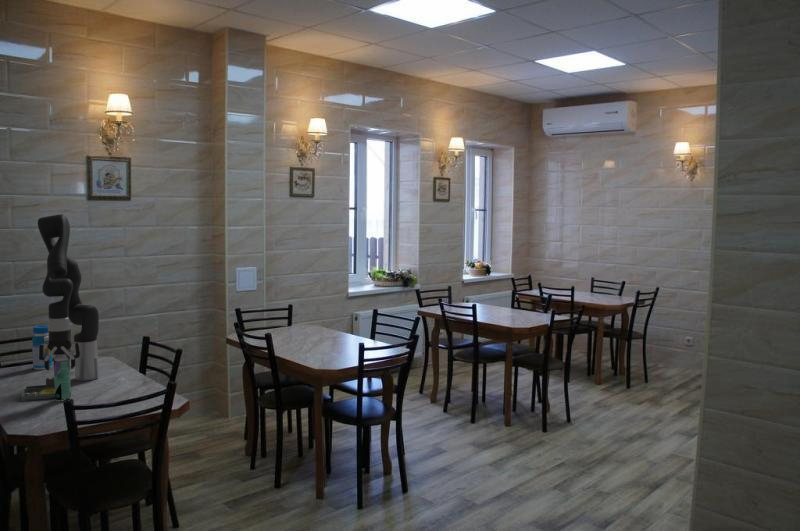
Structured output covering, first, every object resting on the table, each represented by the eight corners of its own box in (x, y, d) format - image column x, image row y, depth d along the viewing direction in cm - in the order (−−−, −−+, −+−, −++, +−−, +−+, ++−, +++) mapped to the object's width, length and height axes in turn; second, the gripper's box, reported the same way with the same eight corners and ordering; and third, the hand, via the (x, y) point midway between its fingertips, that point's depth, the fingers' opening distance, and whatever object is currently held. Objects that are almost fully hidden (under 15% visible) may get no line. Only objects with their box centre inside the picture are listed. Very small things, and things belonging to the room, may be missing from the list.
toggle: (55, 386, 265) (54, 376, 264) (54, 388, 262) (54, 378, 262) (47, 387, 263) (46, 377, 263) (46, 389, 261) (45, 379, 261)
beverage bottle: (32, 370, 297) (30, 328, 295) (33, 366, 304) (31, 325, 303) (52, 368, 301) (51, 327, 299) (53, 364, 308) (51, 324, 306)
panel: (67, 389, 267) (67, 382, 267) (64, 397, 257) (63, 390, 257) (26, 393, 262) (26, 386, 262) (21, 401, 251) (21, 394, 251)
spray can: (67, 396, 258) (65, 348, 256) (73, 399, 254) (71, 350, 253) (53, 399, 254) (50, 350, 252) (58, 402, 250) (56, 352, 248)
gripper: (80, 326, 257) (81, 365, 259) (40, 328, 252) (41, 368, 254) (78, 329, 250) (79, 370, 252) (37, 331, 245) (38, 372, 247)
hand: (60, 369), depth 253 cm, fingers open, 8 cm apart
